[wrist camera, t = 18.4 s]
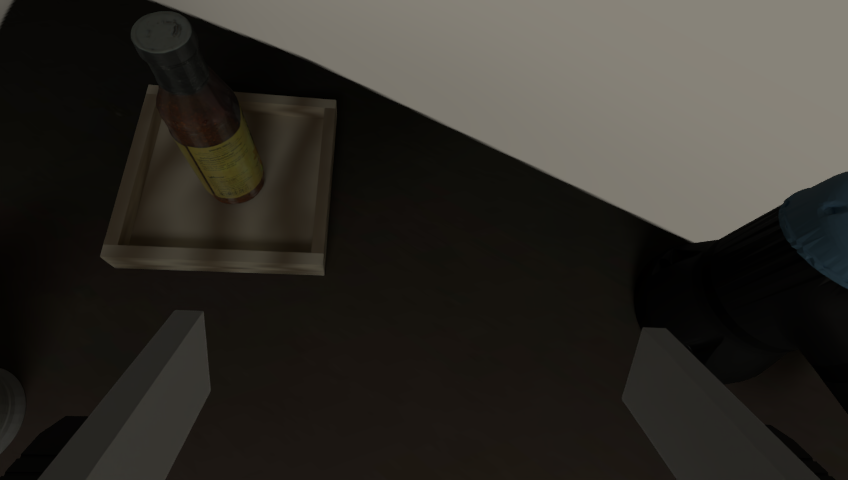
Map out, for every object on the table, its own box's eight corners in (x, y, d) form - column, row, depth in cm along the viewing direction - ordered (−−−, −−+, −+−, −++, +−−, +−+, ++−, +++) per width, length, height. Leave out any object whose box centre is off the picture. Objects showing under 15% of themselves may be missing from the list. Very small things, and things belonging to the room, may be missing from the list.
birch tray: (337, 116, 57) (336, 100, 54) (324, 275, 49) (322, 265, 46) (159, 103, 54) (148, 84, 51) (114, 267, 46) (100, 256, 43)
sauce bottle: (277, 171, 52) (236, 22, 34) (245, 217, 49) (182, 82, 31) (224, 146, 52) (155, -14, 34) (189, 190, 49) (94, 42, 31)
